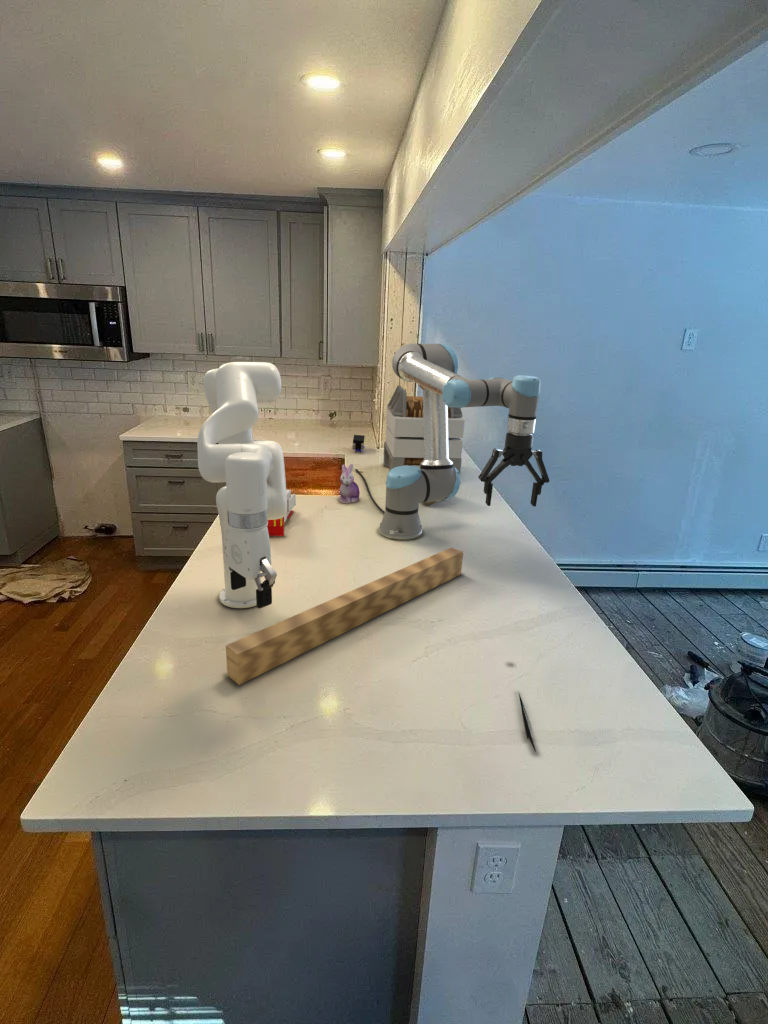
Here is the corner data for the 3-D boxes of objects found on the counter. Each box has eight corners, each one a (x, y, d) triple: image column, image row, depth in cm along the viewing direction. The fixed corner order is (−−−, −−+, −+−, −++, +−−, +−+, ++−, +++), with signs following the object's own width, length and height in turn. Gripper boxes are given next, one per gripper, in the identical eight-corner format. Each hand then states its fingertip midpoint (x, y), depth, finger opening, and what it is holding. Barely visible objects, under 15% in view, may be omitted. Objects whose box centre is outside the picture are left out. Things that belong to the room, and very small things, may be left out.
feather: (511, 668, 129) (516, 662, 128) (535, 756, 102) (542, 749, 102) (505, 664, 129) (510, 658, 128) (527, 751, 102) (534, 744, 101)
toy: (297, 484, 217) (286, 498, 188) (297, 518, 220) (286, 537, 190) (265, 483, 217) (250, 497, 187) (266, 517, 219) (250, 537, 190)
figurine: (343, 505, 225) (344, 468, 220) (333, 497, 234) (334, 462, 229) (364, 502, 230) (366, 466, 225) (354, 495, 238) (355, 460, 233)
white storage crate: (382, 463, 289) (386, 382, 275) (445, 464, 293) (451, 384, 279) (390, 482, 257) (394, 392, 243) (460, 483, 261) (468, 394, 247)
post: (449, 569, 174) (451, 547, 172) (461, 574, 171) (463, 551, 169) (227, 675, 120) (225, 645, 118) (239, 685, 117) (237, 654, 115)
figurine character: (364, 456, 306) (364, 446, 320) (364, 442, 303) (365, 433, 317) (351, 455, 306) (352, 446, 320) (352, 442, 303) (353, 433, 316)
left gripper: (208, 509, 112) (213, 586, 118) (254, 535, 100) (258, 619, 106) (241, 501, 117) (245, 576, 123) (290, 526, 105) (291, 607, 111)
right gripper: (479, 434, 153) (471, 508, 161) (568, 437, 156) (556, 509, 163) (473, 428, 160) (465, 499, 168) (557, 431, 163) (547, 500, 170)
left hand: (251, 596), depth 115 cm, fingers open, 9 cm apart
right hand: (510, 504), depth 165 cm, fingers open, 13 cm apart
